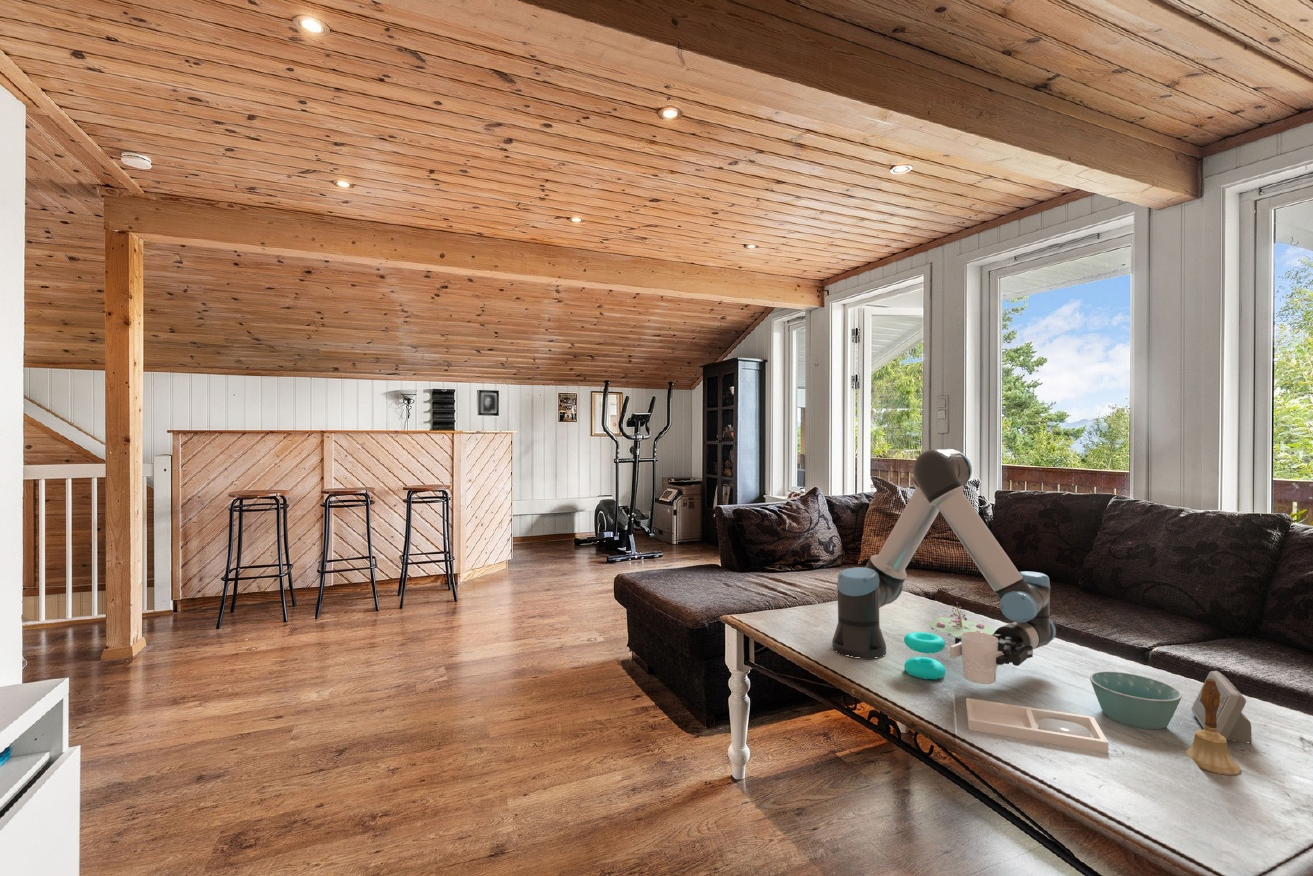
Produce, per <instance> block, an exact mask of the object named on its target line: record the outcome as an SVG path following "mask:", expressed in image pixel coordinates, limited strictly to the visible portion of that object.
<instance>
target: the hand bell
mask: <svg viewBox="0 0 1313 876" xmlns="http://www.w3.org/2000/svg"><path fill="white" fill-rule="evenodd" d="M1205 680H1206V682H1205V681H1204V682H1205V684H1204V683H1203V684H1204V686H1203V685H1202V686H1203V688H1202V687H1201V688H1202V702H1203V706H1204V708H1205V729H1204V728H1203V729H1197V730H1196V731H1194V737H1193V741H1192V744H1191V745H1190V747H1189V748H1188V749H1185V754H1186V755H1187V756H1188V757H1189V758H1191V759H1192V760H1193V762H1194V763H1195V764H1196V765H1197V767H1198V768H1199V769H1200V770H1203V771H1206V772H1209V773H1210V772H1211V773H1213V774H1219V775H1224V776H1237V775H1240V774H1241V773H1242V769H1241V767H1240V765H1239V764H1238V763H1236V761H1234V759H1233V758H1232V756H1231V753H1230V751H1229V747H1228V740H1226V738H1225V737H1224V736H1222V735H1220V734H1219V733H1217V721H1216V713H1217V710H1218V708H1219V704H1220V693H1219V690H1218V688H1217V685H1216V682H1215V680H1213V679H1206V678H1205Z"/></svg>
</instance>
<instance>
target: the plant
mask: <svg viewBox="0 0 1313 876" xmlns="http://www.w3.org/2000/svg"><path fill="white" fill-rule="evenodd" d="M955 604H956V605H958V604H959V602H957V601H956V602H955ZM955 604H952V605H950V607H952V610H951V612H952V614H951V615H950V617H951V618H950V617H944V616H942V617H936V618H934V619H933V620H932V621H931V622H930V623H929V628H931V627H934V628H936V629H937V630H939V631H940V632H939V633H941V632H949V633H951V634H952V635H953V636H952V637H954V636H961V634H962V633H964V632H980V633H986V634H989V635H993V634H994V632H995V631H996V629H995V628H993V627H991V626H989V625H987V624H985V623H984V622H978V621H972V620H971V621H970V620H968V618H967V617H966V615H967V614H968V613H967V612H966V611H962V610H961V609H962V606H959V607H958V606H955ZM955 608H956V609H955ZM959 609H960V610H959ZM952 617H957V618H952Z"/></svg>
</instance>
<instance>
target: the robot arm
mask: <svg viewBox="0 0 1313 876" xmlns="http://www.w3.org/2000/svg"><path fill="white" fill-rule="evenodd" d="M972 467H973V466H972V464H971V460H970V459H969V458H968V456H966V455H965V454H964V453H962V452H961V451H958V450H956V449H952V448H941V449H937V448H936V449H935V448H933V449H928V450H925V451H923V452H922V453H921V454H920V455H918V456H917V457H916V459H915V461H914V463H913V466H912V474H913V478H914V480H913V485H914V488H915V490H914V492H913V493H912V495H911V497H910V499H909V500H908V502H907V504H906V505H905V507H904V508H903V509H904V510H903V511H902V512H901V514H900V516H899V517H898V519H897V521H896V523H895V525H894V527H893V528H892V530H891V532H890V534H889V535H888V537H887V539H886V541H885V542H884V544H883V546H882V547H881V549H880V551H879V553H878V554H875V555H874V554H873V555H871V556H870V558H869V560H868V562H867V563H866V565H865V567H862V566H861V567H858V566H856V567H855V566H854V567H849V568H845V569H842V570H841V571H840V572H839V573H838V575H837V583H836V587H837V625H836V628H835V631H834V634H833V637H832V640H831V641H832V643H831V644H832V645H831V646H832V647H833V649H832V650H833V651H834V650H835V651H837V652H838V653H840V654H839V655H841V654H843V655H842V656H844V655H849V656H853V657H860V658H874V659H876V658H875V657H880V656H883V655H885V654H887V644H886V641H885V638H884V635H883V633H882V629H881V626H880V608H882V607H884V606H886V605H890V604H891V603H894V601H896V600H897V599H898V598H899V597H900V596H901V594H902V592H903V590H904V582H905V581H906V579H907V577H908V574H907V571H906V568H907V567H908V565H909V564H910V562H911V560H912V559H913V557H914V554H915V553H916V551H917V549H918V548H919V546H920V544H921V542H923V540H924V538H925V536H926V535H927V533H928V531H930V530H929V529H930V528H931V526H932V525H933V523H934V521H935V519H936V517H937V516H938V514H939V513H941V515H942V517H943V518H944V519H945V522H946V523H947V524H948V525H949V527H950V528H951V530H952V531H953V533H954V534H955V536H956V538H958V540H959V541H960V544H961V545H962V546H963V548H964V549H965V551H966V552H967V554H968V555H969V556H970V558H971V559H972V561H973V563H974V564H975V566H976V567H977V568H978V569H979V571H980V573H981V574H982V575H983V577H984V578H985V581H987V583H988V584H989V586H990V588H991V589H992V590H993V592H994V593H995V594H996V596H997V597H998V600H1000V602H999V603H1000V604H999V605H1000V606H999V607H1000V610H1001V613H1002V614H1003V616H1004V617H1005V618H1006V619H1008V620H1009V621H1010V622H1011V623H1007V624H1006V625H1002V626H1000V627H998V628H997V629H995V632H994V634H993V635H992V636H995V637H996V638H998V652H996V653H993V654H991V655H988V656H986V657H985V669H988V670H989V669H991V668H993V667H996V666H997V667H998V666H1002V665H1009V664H1011V663H1012V665H1013V666H1015V667H1019V666H1020V665H1021V664H1023V663H1024V662H1025V661H1027V659H1030V658H1034V657H1033V654H1034V653H1033V651H1034V650H1035V649H1038V648H1041V647H1044V646H1046V645H1048V644H1049V643H1050V642H1052V641H1053V640H1054V639H1055V637H1056V634H1057V629H1056V626H1055V624H1054V622H1053V621H1052V619H1051V618H1050V616H1051V615H1050V607H1051V606H1050V601H1051V599H1050V598H1051V596H1050V595H1051V584H1050V583H1051V581H1050V577H1049V576H1048V575H1047V574H1045V573H1043V572H1038V571H1037V572H1036V571H1027V570H1026V571H1018V569H1017V567H1016V565H1014V563H1013V561H1012V560H1011V558H1010V557H1009V556H1008V554H1007V552H1005V550H1004V548H1003V547H1002V546H1001V545H1000V543H999V541H998V540H997V539H996V538H995V536H994V535H993V533H992V531H991V530H990V529H989V528H988V526H987V525H986V523H985V522H984V520H983V519H982V518H981V517H982V516H980V515H979V513H978V512H977V510H976V509H975V507H974V505H972V503H971V502H970V500H969V498H967V496H966V495H965V493H964V489H965V485H966V484H967V483H968V482H969V480H970V479H971V478H972V477H971V476H972V474H973V473H972V472H973V468H972ZM835 651H834V652H835ZM837 652H836V653H837ZM838 653H837V654H838ZM885 656H886V655H885ZM960 656H961V657H962V647H961V636H959V637H954V644H951V645H949V658H950V659H955V658H958V657H960ZM883 657H884V656H883ZM880 658H881V657H880Z"/></svg>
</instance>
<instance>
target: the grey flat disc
mask: <svg viewBox="0 0 1313 876" xmlns="http://www.w3.org/2000/svg"><path fill="white" fill-rule="evenodd" d="M1038 729H1040V730H1046V731H1053V732H1059V733H1065V734H1071V735H1077V736H1084V737H1090V738H1091V733H1090V731H1089V730H1088V729H1087V728H1085V727H1084V726H1082V725H1080V724H1077V723H1074V722H1071V721H1068V720H1063V719H1056V718H1046V719H1042V720H1040V721H1039V722H1038Z"/></svg>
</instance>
